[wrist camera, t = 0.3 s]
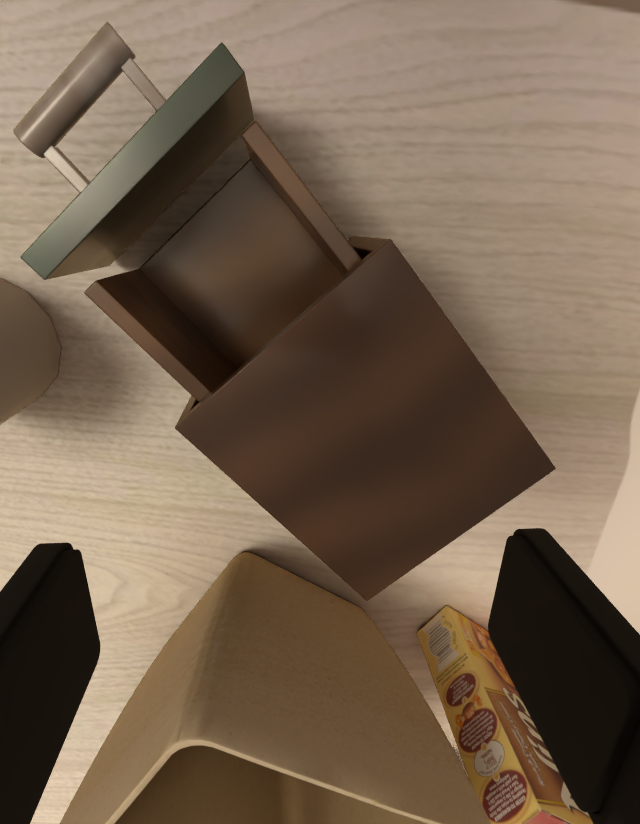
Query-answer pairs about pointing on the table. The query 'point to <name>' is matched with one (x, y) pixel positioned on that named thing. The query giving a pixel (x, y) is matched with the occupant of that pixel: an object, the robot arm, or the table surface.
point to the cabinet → (369, 426)
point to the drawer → (201, 235)
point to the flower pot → (276, 721)
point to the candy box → (494, 727)
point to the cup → (24, 350)
